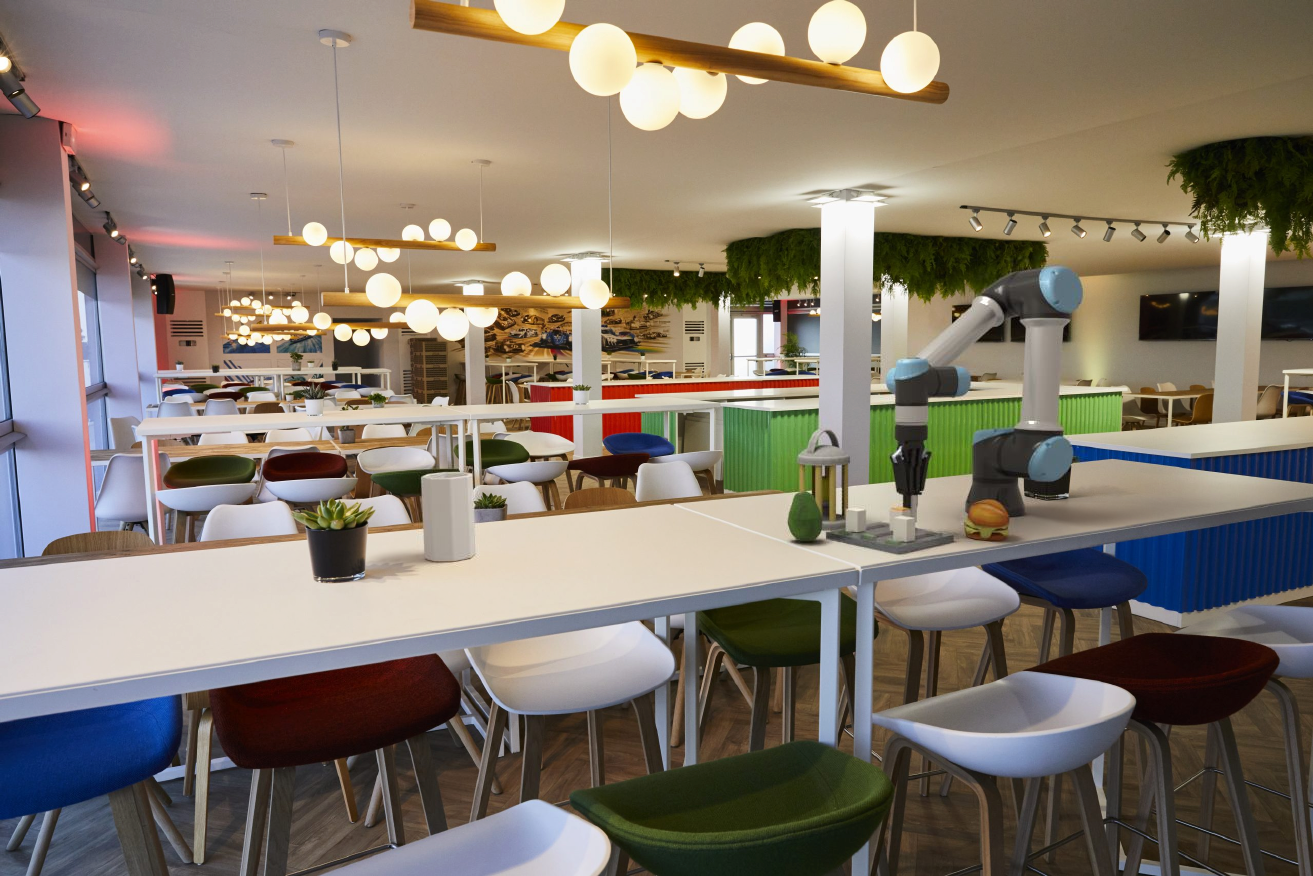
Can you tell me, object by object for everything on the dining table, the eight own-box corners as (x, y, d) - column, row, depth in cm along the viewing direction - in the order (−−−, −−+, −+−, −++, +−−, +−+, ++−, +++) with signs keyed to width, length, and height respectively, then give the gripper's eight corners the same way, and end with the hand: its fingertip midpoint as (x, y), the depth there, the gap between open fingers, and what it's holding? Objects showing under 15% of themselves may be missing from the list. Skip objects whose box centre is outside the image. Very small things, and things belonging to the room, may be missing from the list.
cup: (422, 554, 188) (418, 473, 186) (472, 549, 192) (468, 470, 190) (427, 564, 178) (423, 479, 176) (479, 559, 182) (476, 476, 180)
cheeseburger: (1001, 532, 199) (1005, 494, 196) (1015, 552, 189) (1020, 512, 186) (958, 531, 200) (962, 493, 197) (969, 551, 190) (974, 511, 187)
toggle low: (854, 528, 199) (854, 507, 198) (865, 530, 196) (866, 509, 196) (845, 529, 197) (845, 509, 197) (857, 532, 194) (857, 511, 194)
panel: (881, 527, 207) (881, 519, 207) (953, 541, 190) (954, 532, 190) (825, 538, 196) (825, 529, 196) (898, 554, 179) (898, 544, 179)
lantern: (827, 533, 203) (827, 431, 200) (784, 525, 214) (783, 429, 211) (863, 525, 212) (863, 428, 209) (819, 517, 222) (819, 425, 220)
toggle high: (901, 537, 188) (901, 515, 187) (914, 540, 185) (915, 518, 184) (893, 539, 186) (893, 517, 185) (906, 542, 183) (906, 519, 182)
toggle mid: (897, 528, 198) (898, 506, 197) (910, 530, 195) (910, 508, 194) (889, 530, 196) (889, 507, 195) (902, 532, 193) (902, 509, 192)
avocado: (795, 537, 199) (795, 487, 198) (826, 540, 195) (826, 489, 194) (782, 543, 192) (782, 492, 191) (815, 546, 188) (814, 494, 187)
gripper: (915, 421, 202) (914, 516, 204) (880, 424, 195) (879, 522, 197) (941, 423, 196) (940, 520, 198) (906, 426, 188) (905, 527, 191)
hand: (910, 521), depth 197 cm, fingers closed
